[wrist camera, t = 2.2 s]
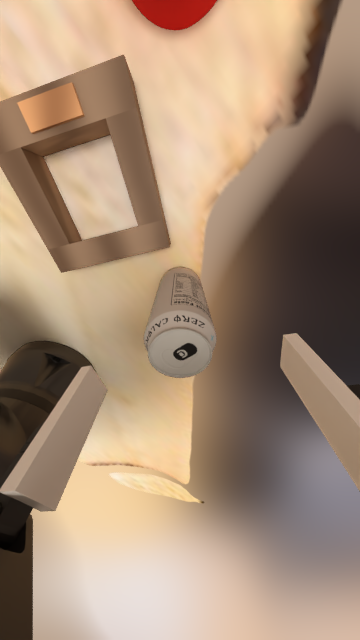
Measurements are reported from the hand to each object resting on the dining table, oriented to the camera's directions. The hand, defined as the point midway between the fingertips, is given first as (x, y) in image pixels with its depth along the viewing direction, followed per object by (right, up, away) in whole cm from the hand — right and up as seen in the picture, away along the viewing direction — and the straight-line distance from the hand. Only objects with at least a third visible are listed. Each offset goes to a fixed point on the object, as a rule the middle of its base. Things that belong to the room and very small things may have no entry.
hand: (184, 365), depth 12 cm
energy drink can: (0, +8, +14) cm, 16 cm away
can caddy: (-10, +18, +8) cm, 22 cm away
